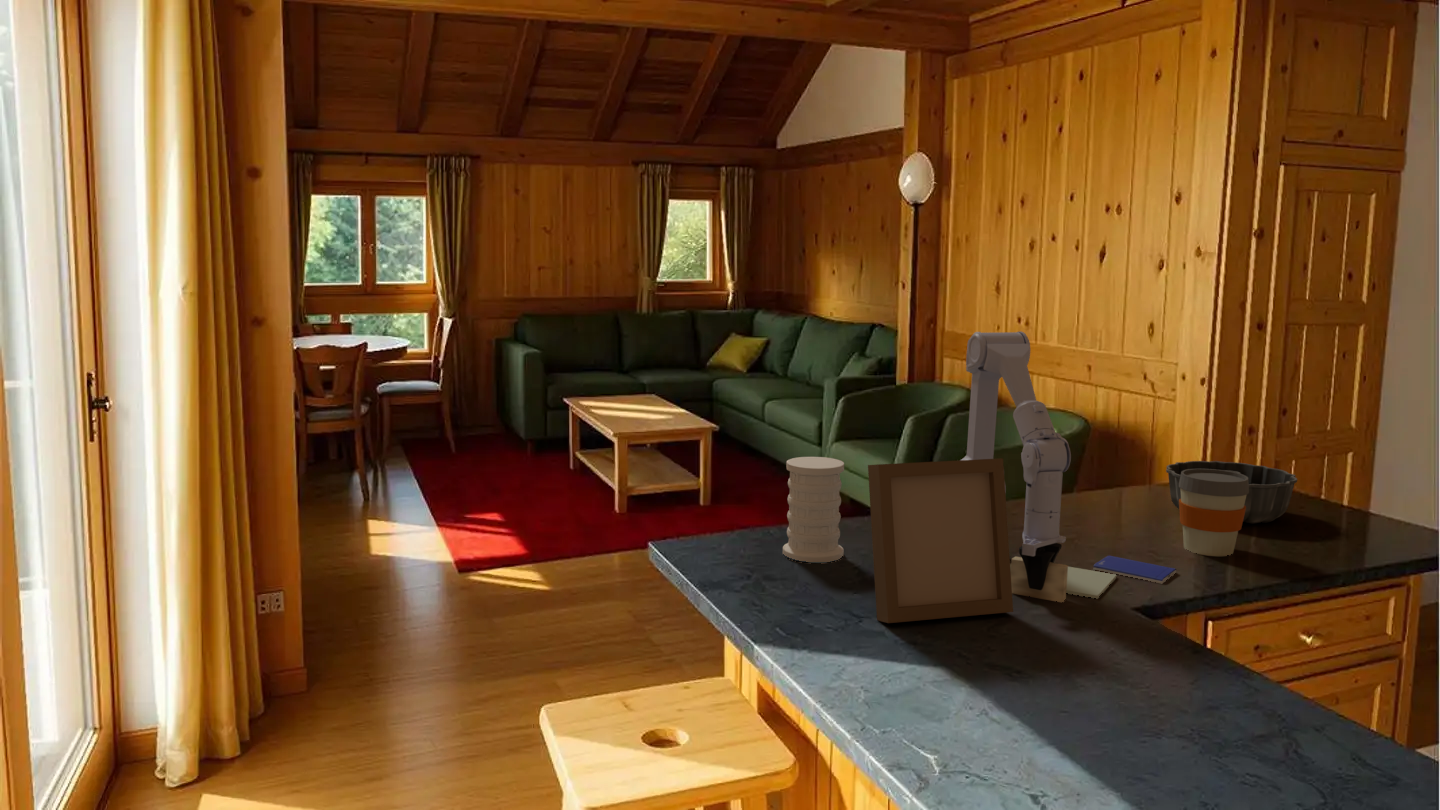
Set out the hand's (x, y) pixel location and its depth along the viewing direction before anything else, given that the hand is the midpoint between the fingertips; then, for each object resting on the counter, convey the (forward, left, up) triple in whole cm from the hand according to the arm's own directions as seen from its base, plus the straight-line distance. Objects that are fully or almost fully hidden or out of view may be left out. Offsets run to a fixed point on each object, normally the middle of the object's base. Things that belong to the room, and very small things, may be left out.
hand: (1038, 586), depth 187 cm
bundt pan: (+19, +79, -2) cm, 81 cm away
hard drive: (+11, +24, -2) cm, 26 cm away
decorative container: (-43, 0, -2) cm, 43 cm away
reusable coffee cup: (+20, +47, -2) cm, 51 cm away
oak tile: (0, 0, -2) cm, 2 cm away
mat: (0, +11, -2) cm, 11 cm away
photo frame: (-13, -16, -2) cm, 21 cm away
